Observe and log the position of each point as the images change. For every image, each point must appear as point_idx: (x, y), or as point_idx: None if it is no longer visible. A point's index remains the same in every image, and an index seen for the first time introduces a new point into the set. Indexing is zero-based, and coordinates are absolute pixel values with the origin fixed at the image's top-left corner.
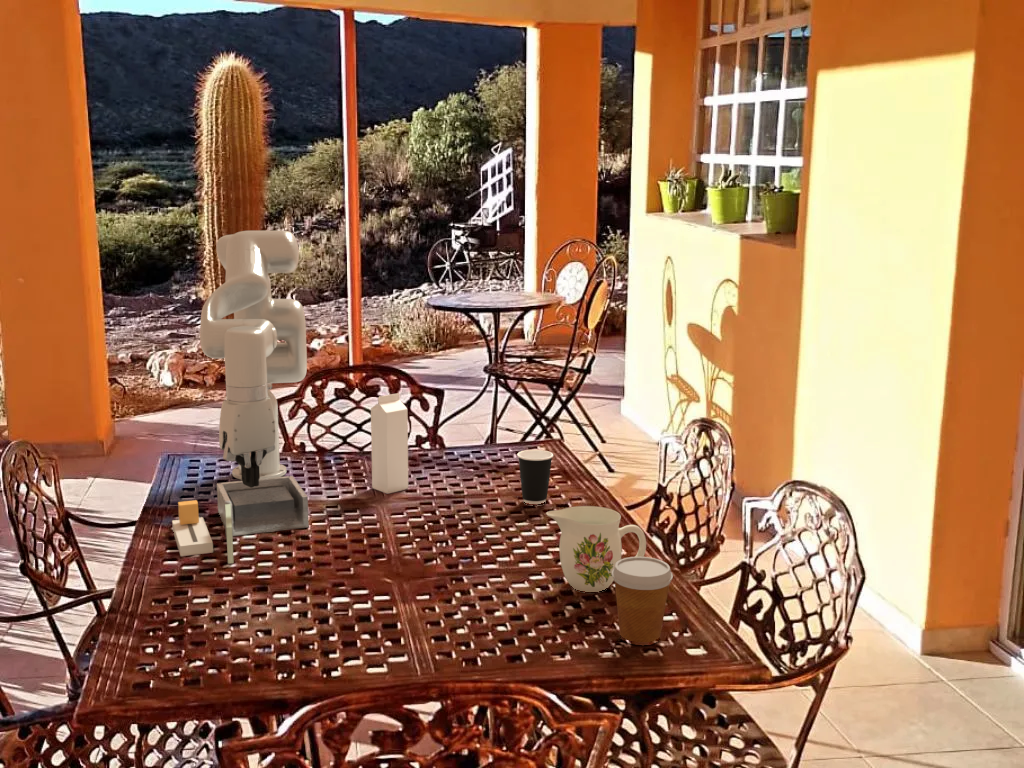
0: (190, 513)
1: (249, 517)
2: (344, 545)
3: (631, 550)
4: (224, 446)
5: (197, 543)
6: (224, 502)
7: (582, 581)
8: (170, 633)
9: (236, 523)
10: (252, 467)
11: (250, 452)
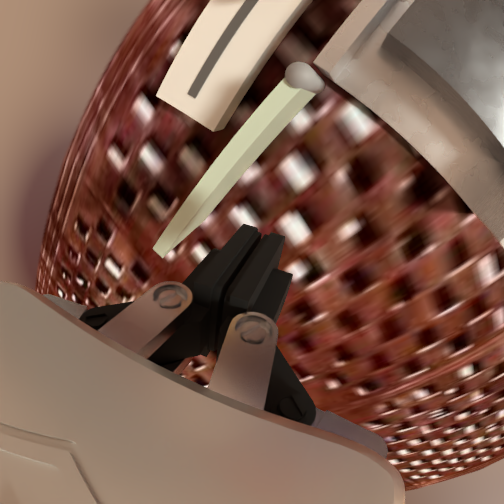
0: None
1: (418, 69)
2: (399, 332)
3: (440, 478)
4: (5, 291)
5: (187, 109)
6: (286, 69)
7: None
8: (74, 290)
9: (384, 46)
10: (203, 353)
11: (213, 379)
